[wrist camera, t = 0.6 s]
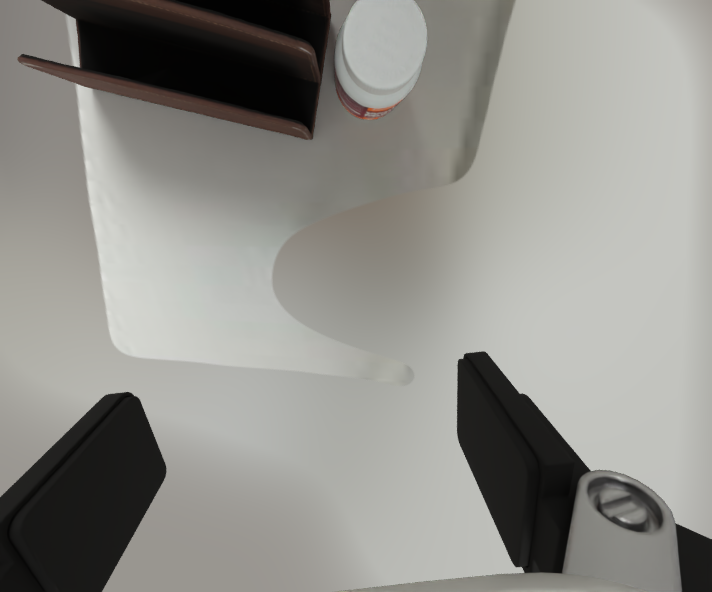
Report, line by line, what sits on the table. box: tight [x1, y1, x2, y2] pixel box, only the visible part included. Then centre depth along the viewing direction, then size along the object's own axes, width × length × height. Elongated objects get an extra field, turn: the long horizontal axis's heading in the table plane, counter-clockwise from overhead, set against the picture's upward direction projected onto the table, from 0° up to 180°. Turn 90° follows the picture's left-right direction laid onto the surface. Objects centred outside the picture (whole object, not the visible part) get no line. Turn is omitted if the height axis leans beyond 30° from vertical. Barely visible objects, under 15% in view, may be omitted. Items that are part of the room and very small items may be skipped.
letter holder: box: [18, 0, 331, 140], centre depth 23 cm, size 10×20×14 cm, turn 78°
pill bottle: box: [334, 0, 427, 120], centre depth 25 cm, size 6×6×11 cm
